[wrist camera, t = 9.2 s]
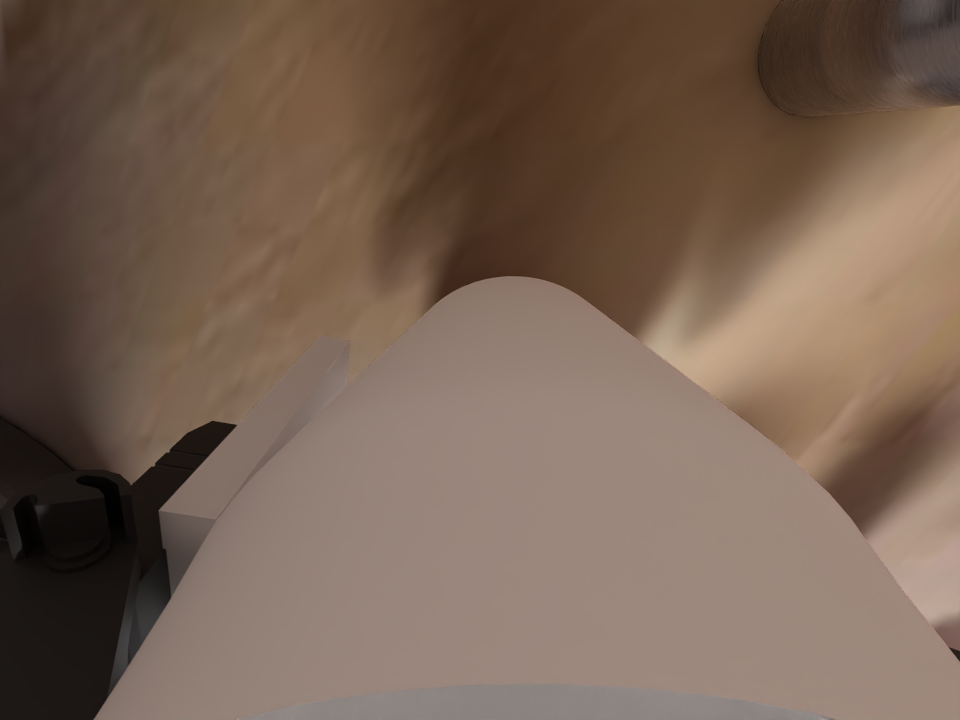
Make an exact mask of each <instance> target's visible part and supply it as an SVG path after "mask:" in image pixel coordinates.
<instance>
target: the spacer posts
mask: <svg viewBox="0 0 960 720" xmlns="http://www.w3.org/2000/svg"><path fill="white" fill-rule="evenodd" d="M758 66H759V75H760V79H761V83H762V85H763V88H764V90H765V92H766V94H767V95H768V97H769V98H770V99H771V101H772V102H773V103H774V104H775V105H776V106H777V107H779V108H780V109H782V110H783V111H785V112H788V113H790V114H793V115H797V116H803V117H815V116H828V115H841V114H853V113H866V112H879V111H892V110H905V109H918V108H931V107H944V106H957V105H960V0H782V1H781V2H780V4H779V5H778V6H777V8H776V9H775V11H774V12H773V14H772V15H771V17H770V19H769V21H768V23H767V25H766V28H765V30H764V33H763V36H762V40H761V43H760V49H759V58H758Z"/></svg>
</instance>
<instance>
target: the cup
mask: <svg viewBox="0 0 960 720" xmlns="http://www.w3.org/2000/svg"><path fill="white" fill-rule="evenodd" d="M94 720H960V661H959V660H958V659H957V658H956V656H955V655H954V654H953V653H952V651H951V650H950V649H949V648H948V646H947V645H946V644H945V643H944V641H943V640H942V639H941V638H940V637H939V635H938V634H937V633H936V631H935V630H934V629H933V628H932V626H931V625H930V624H929V623H928V621H927V620H926V619H925V618H924V616H923V615H922V614H921V613H920V611H919V610H918V609H917V608H916V606H915V605H914V604H913V603H912V601H911V600H910V599H909V598H908V596H907V595H906V594H905V593H904V591H903V590H902V589H901V587H900V586H899V584H898V583H897V582H896V580H895V579H894V578H893V576H892V575H891V573H890V572H889V571H888V569H887V568H886V566H885V565H884V564H883V562H882V561H881V560H880V558H879V557H878V555H877V554H876V553H875V551H874V550H873V548H872V547H871V546H870V544H869V543H868V542H867V540H866V539H865V537H864V536H863V535H862V533H861V532H860V530H859V529H858V528H857V526H856V525H855V523H854V522H853V521H852V519H851V518H850V517H849V516H848V514H847V513H846V512H845V511H844V510H843V509H842V507H841V506H840V505H839V504H838V503H837V502H836V500H835V499H834V498H833V497H832V496H831V495H830V493H828V492H827V491H826V490H825V489H824V488H823V487H822V486H821V485H820V484H819V483H818V482H817V481H816V480H814V479H813V478H812V477H811V476H810V475H809V474H808V473H807V472H806V471H805V470H804V469H803V468H801V467H800V466H799V465H798V464H797V463H796V462H795V461H794V460H793V459H791V458H790V457H789V456H788V455H787V454H786V453H785V452H784V451H783V450H781V449H780V448H779V447H778V446H777V445H776V444H774V443H773V442H772V441H770V440H769V439H768V438H766V437H765V436H764V435H763V434H761V433H760V432H759V431H757V430H756V429H755V428H753V427H752V426H751V425H750V424H748V423H747V422H746V421H744V420H743V419H742V418H740V417H739V416H738V415H736V414H735V413H734V412H733V411H731V410H730V409H729V408H727V407H726V406H725V405H723V404H722V403H721V402H720V401H718V400H717V399H716V398H714V397H713V396H712V395H710V394H709V393H708V392H706V391H705V390H704V389H702V388H701V387H700V386H698V385H697V384H696V383H694V382H693V381H692V380H691V379H689V378H688V377H687V376H685V375H684V374H683V373H681V372H680V371H679V370H677V369H676V368H675V367H673V366H672V365H671V364H669V363H668V362H667V361H665V360H664V359H663V358H661V357H660V356H659V355H657V354H656V353H655V352H653V351H652V350H651V349H649V348H648V347H647V346H646V345H644V344H643V343H642V342H640V341H639V340H638V339H636V338H635V337H634V336H632V335H631V334H630V333H628V332H627V331H626V330H624V329H623V328H622V327H620V326H619V325H618V324H616V323H615V322H614V321H612V320H611V319H610V318H608V317H607V316H606V315H604V314H603V313H602V312H600V311H599V310H598V309H596V308H595V307H594V306H593V305H591V304H590V303H589V302H587V301H586V300H584V299H583V298H582V297H580V296H579V295H577V294H576V293H574V292H572V291H570V290H569V289H567V288H564V287H562V286H560V285H558V284H555V283H552V282H549V281H546V280H541V279H536V278H530V277H522V276H506V277H495V278H490V279H485V280H481V281H477V282H474V283H471V284H469V285H466V286H463V287H461V288H459V289H457V290H455V291H453V292H452V293H450V294H449V295H447V296H445V297H444V298H442V299H441V300H440V301H439V302H437V303H436V304H435V305H434V306H433V307H431V308H430V309H429V310H428V311H427V312H426V313H425V314H424V315H423V316H422V317H421V318H420V319H419V320H418V321H416V322H415V323H414V324H413V325H412V326H411V327H410V328H409V329H408V330H407V331H406V332H405V333H404V334H403V335H401V336H400V337H399V338H398V339H397V340H396V341H395V342H394V343H393V344H392V345H391V346H390V347H389V348H388V349H386V350H385V351H384V352H383V353H382V354H381V355H380V356H379V357H378V358H377V359H376V360H375V361H374V362H373V363H371V364H370V365H369V366H368V367H367V368H366V369H365V370H364V371H363V372H362V373H361V374H360V375H359V376H358V377H357V378H355V379H354V380H353V381H352V382H351V383H350V384H349V385H348V386H347V387H346V388H345V389H344V390H343V391H342V392H340V393H339V394H338V395H337V396H336V397H335V398H334V399H333V400H332V401H331V402H330V403H329V404H328V405H327V406H326V407H324V408H323V409H322V410H321V411H320V412H319V413H318V414H317V415H316V416H315V417H314V418H313V419H312V420H311V421H310V422H309V423H308V424H307V425H306V426H304V427H303V428H302V429H301V430H300V431H299V432H298V433H297V434H296V435H295V436H294V437H293V438H292V439H291V440H290V441H289V442H288V443H287V444H286V445H284V446H283V447H282V448H281V449H280V450H279V451H278V452H277V453H276V454H275V455H274V456H273V457H272V458H271V459H270V460H269V461H268V462H267V463H266V464H265V465H264V466H263V467H262V468H260V469H259V470H258V471H257V472H256V474H255V475H254V476H253V477H252V478H251V479H250V480H249V482H248V483H247V484H246V485H245V486H244V487H243V488H242V490H241V491H240V492H239V493H238V494H237V495H236V496H235V498H234V499H233V500H232V501H231V503H230V504H229V505H228V506H227V508H226V509H225V510H224V511H223V513H222V514H221V515H220V516H219V517H218V519H217V520H216V522H215V523H214V525H213V527H212V528H211V530H210V532H209V533H208V535H207V537H206V538H205V540H204V542H203V543H202V545H201V547H200V549H199V550H198V552H197V554H196V555H195V557H194V559H193V561H192V562H191V564H190V566H189V568H188V569H187V571H186V573H185V575H184V576H183V578H182V580H181V582H180V583H179V585H178V587H177V589H176V590H175V592H174V594H173V596H172V597H171V599H170V601H169V602H168V604H167V606H166V607H165V609H164V610H163V612H162V614H161V615H160V617H159V618H158V620H157V621H156V623H155V625H154V626H153V628H152V629H151V631H150V633H149V634H148V636H147V637H146V639H145V641H144V642H143V644H142V645H141V647H140V648H139V650H138V652H137V653H136V655H135V656H134V658H133V660H132V661H131V663H130V664H129V666H128V667H127V669H126V671H125V672H124V674H123V675H122V677H121V678H120V680H119V681H118V683H117V685H116V686H115V688H114V689H113V691H112V692H111V694H110V695H109V697H108V698H107V700H106V701H105V703H104V705H103V706H102V708H101V709H100V711H99V712H98V714H97V715H96V717H95V718H94Z"/></svg>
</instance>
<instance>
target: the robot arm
mask: <svg viewBox="0 0 960 720" xmlns="http://www.w3.org/2000/svg"><path fill="white" fill-rule="evenodd" d="M349 348H350V341H349V340H343V339H338V338H332V337H326V336H319V337H318V339H317V340H316V341H315V342H314V343H313V344H312V345H311V346H310V347H309V348H308V349H307V350H306V352H305V353H304V354H303V355H302V356H301V357H300V358H299V359H298V360H297V361H296V362H295V363H294V365H293V366H292V367H291V368H290V369H289V370H288V371H287V372H286V373H285V374H284V375H283V376H282V378H281V379H280V380H279V381H278V382H277V383H276V384H275V385H274V386H273V387H272V388H271V389H270V391H269V392H268V393H267V394H266V395H265V396H264V397H263V398H262V399H261V400H260V401H259V402H258V404H257V405H256V406H255V407H254V408H253V409H252V410H251V411H250V412H249V413H248V414H247V415H246V417H245V418H244V419H243V420H242V421H241V422H240V423H239V424H238V425H234V424H228V423H222V422H216V421H211V422H209V423H207V424H205V425H203V426H201V427H199V428H197V429H195V430H193V431H191V432H189V433H187V434H186V435H185V436H184V437H183V438H182V439H181V440H179V441H178V442H177V443H176V444H175V445H174V446H173V447H172V448H171V449H170V452H169V453H166V454H164V455H163V456H162V457H161V458H160V459H159V460H158V461H157V462H156V463H155V466H154V467H151V468H149V469H148V470H147V471H146V472H145V473H144V474H143V475H142V476H141V477H140V478H139V479H138V480H137V481H136V482H135V483H133V484H132V485H131V486H130V483H129V482H128V481H127V480H126V479H124V478H123V477H122V476H121V475H120V474H116V473H112V472H108V471H104V470H79V471H74V472H73V471H72V470H71V469H69V468H68V467H67V466H66V465H65V464H64V463H63V462H62V461H61V460H59V459H58V458H57V457H56V456H55V455H53V454H52V453H51V452H50V451H48V450H47V449H46V448H44V447H43V446H42V445H40V444H39V443H38V442H36V441H35V440H33V439H32V438H30V437H29V436H28V435H26V434H25V433H23V432H22V431H20V430H18V429H17V428H15V427H13V426H12V425H10V424H8V423H7V422H5V421H3V420H1V419H0V720H94V718H95V717H96V715H97V714H98V712H99V711H100V709H101V708H102V706H103V705H104V703H105V701H106V700H107V698H108V697H109V695H110V694H111V692H112V691H113V689H114V688H115V686H116V685H117V683H118V681H119V680H120V678H121V677H122V675H123V674H124V672H125V671H126V669H127V667H128V666H129V664H130V663H131V661H132V660H133V658H134V656H135V655H136V653H137V652H138V650H139V648H140V647H141V645H142V644H143V642H144V641H145V639H146V637H147V636H148V634H149V633H150V631H151V629H152V628H153V626H154V625H155V623H156V621H157V620H158V618H159V617H160V615H161V614H162V612H163V610H164V609H165V607H166V606H167V604H168V602H169V601H170V599H171V597H172V596H173V594H174V592H175V590H176V589H177V587H178V585H179V583H180V582H181V580H182V578H183V576H184V575H185V573H186V571H187V569H188V568H189V566H190V564H191V562H192V561H193V559H194V557H195V555H196V554H197V552H198V550H199V549H200V547H201V545H202V543H203V542H204V540H205V538H206V537H207V535H208V533H209V532H210V530H211V528H212V527H213V525H214V523H215V522H216V520H217V519H218V517H219V516H220V515H221V514H222V513H223V511H224V510H225V509H226V508H227V506H228V505H229V504H230V503H231V501H232V500H233V499H234V498H235V496H236V495H237V494H238V493H239V492H240V491H241V490H242V488H243V487H244V486H245V485H246V484H247V483H248V482H249V480H250V479H251V478H252V477H253V476H254V475H255V474H256V472H257V471H258V470H259V469H260V468H262V467H263V466H264V465H265V464H266V463H267V462H268V461H269V460H270V459H271V458H272V457H273V456H274V455H275V454H276V453H277V452H278V451H279V450H280V449H281V448H282V447H283V446H284V445H286V444H287V443H288V442H289V441H290V440H291V439H292V438H293V437H294V436H295V435H296V434H297V433H298V432H299V431H300V430H301V429H302V428H303V427H304V426H306V425H307V424H308V423H309V422H310V421H311V420H312V419H313V418H314V417H315V416H316V415H317V414H318V413H319V412H320V411H321V410H322V409H323V408H324V407H326V406H327V405H328V404H329V403H330V402H331V401H332V400H333V399H334V398H335V397H336V396H337V395H338V394H339V393H340V392H342V391H343V390H344V389H345V388H346V387H347V377H348V363H349ZM948 648H949V647H948ZM949 649H950V650H951V651H952V653H953V654H954V655H955V656H956V658H957V659H958V660H959V661H960V651H958V650H955V649H952V648H949Z"/></svg>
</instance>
